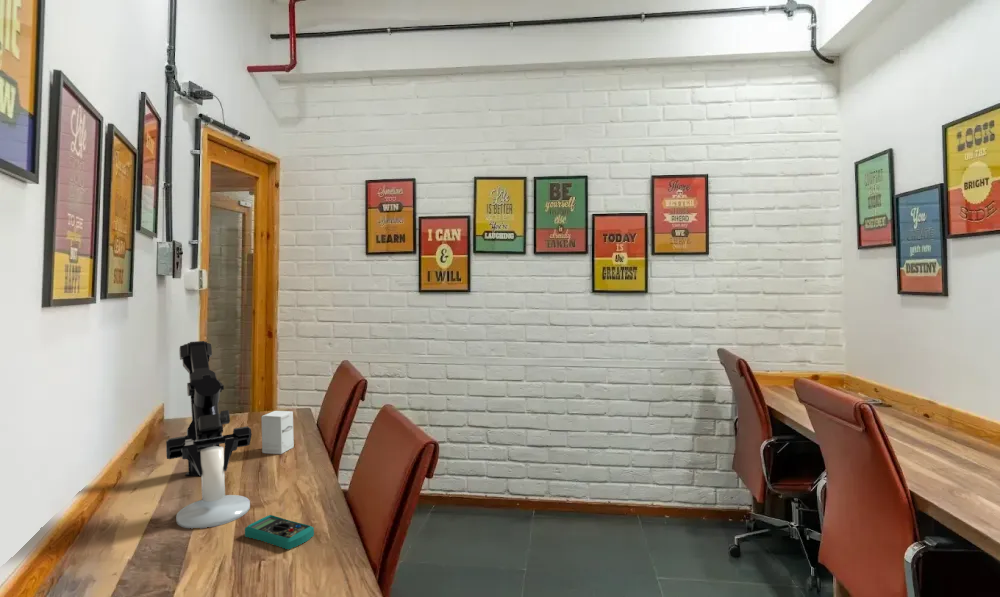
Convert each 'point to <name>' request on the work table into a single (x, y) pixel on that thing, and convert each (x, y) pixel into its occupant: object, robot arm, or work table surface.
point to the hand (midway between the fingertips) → (213, 472)
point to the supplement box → (277, 432)
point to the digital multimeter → (279, 532)
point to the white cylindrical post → (212, 473)
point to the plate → (213, 512)
